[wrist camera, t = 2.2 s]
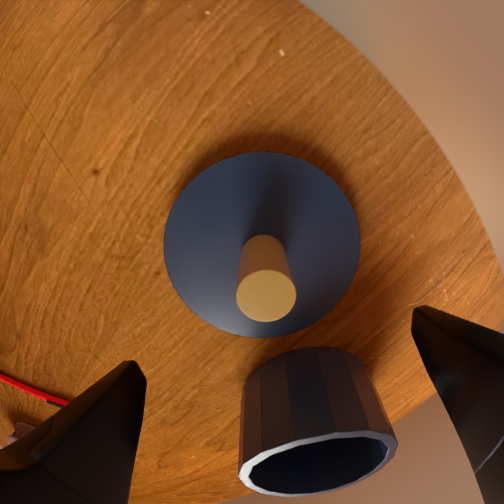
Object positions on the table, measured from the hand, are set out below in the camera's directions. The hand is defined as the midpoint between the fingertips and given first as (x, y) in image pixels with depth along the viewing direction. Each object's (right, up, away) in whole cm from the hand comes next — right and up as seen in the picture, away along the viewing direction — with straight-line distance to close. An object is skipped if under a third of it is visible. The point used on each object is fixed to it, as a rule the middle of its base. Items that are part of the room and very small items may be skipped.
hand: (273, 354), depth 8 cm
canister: (+4, -8, +13) cm, 16 cm away
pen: (-27, -13, +15) cm, 33 cm away
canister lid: (0, +3, +8) cm, 8 cm away
